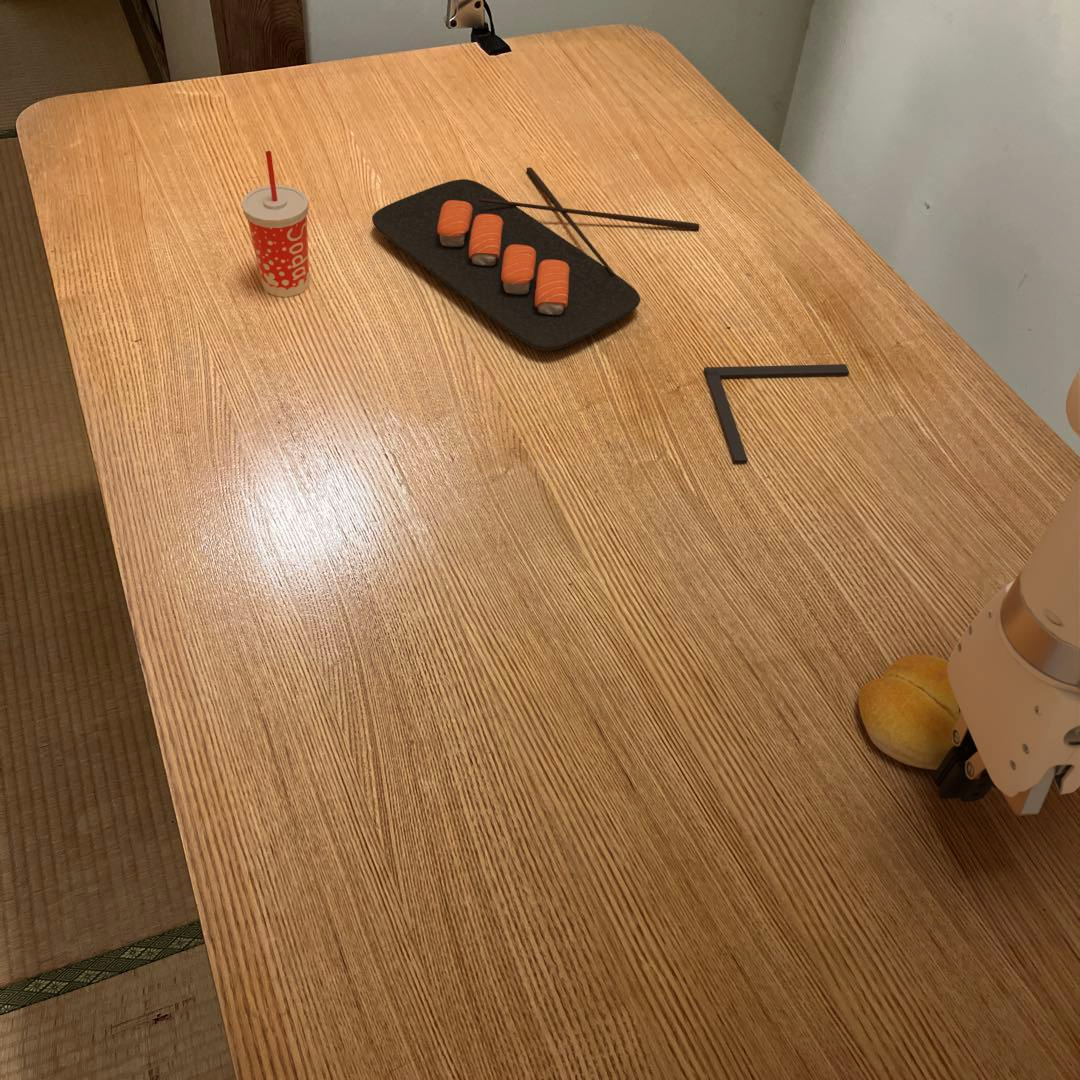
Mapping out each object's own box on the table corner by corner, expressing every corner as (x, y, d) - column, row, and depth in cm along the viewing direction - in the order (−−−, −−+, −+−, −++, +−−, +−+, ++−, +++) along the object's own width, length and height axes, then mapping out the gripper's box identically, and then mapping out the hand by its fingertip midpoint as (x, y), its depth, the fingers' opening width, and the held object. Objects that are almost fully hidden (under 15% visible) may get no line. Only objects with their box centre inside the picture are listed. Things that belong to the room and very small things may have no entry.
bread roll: (833, 715, 77) (849, 683, 74) (911, 655, 81) (929, 623, 78) (925, 798, 73) (945, 769, 70) (1002, 731, 77) (1024, 700, 74)
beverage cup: (272, 308, 104) (252, 176, 94) (243, 276, 107) (221, 145, 97) (328, 289, 107) (315, 158, 96) (299, 258, 110) (283, 129, 100)
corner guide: (844, 368, 104) (845, 363, 103) (886, 459, 96) (888, 455, 95) (703, 371, 102) (704, 366, 102) (733, 464, 94) (734, 460, 93)
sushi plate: (360, 230, 114) (358, 198, 111) (568, 147, 128) (571, 117, 125) (542, 372, 101) (545, 339, 98) (752, 261, 115) (759, 230, 112)
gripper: (1210, 736, 54) (1056, 889, 68) (1079, 518, 64) (968, 690, 78) (1071, 746, 53) (944, 899, 67) (960, 523, 63) (869, 696, 77)
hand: (957, 786), depth 72 cm, fingers closed
